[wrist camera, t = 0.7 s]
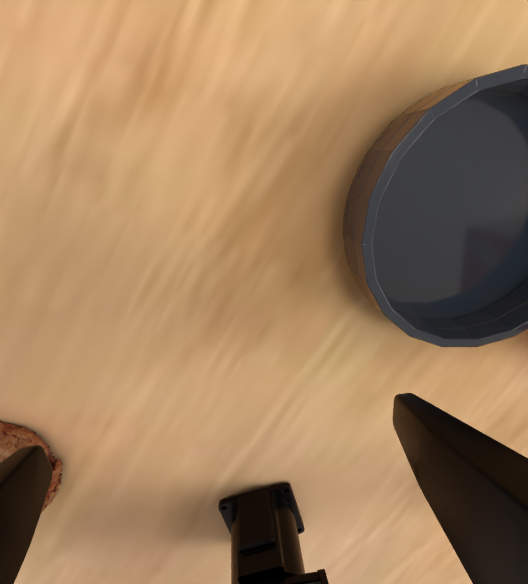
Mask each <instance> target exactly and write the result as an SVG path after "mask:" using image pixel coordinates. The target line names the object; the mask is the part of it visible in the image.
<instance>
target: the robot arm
mask: <svg viewBox="0 0 528 584" xmlns="http://www.w3.org/2000/svg"><path fill="white" fill-rule="evenodd" d="M393 425H394V428H395V431H396V433H397V435H398V438H399V440H400V442H401V445H402V447H403V449H404V452H405V454H406V456H407V459H408V461H409V463H410V466H411V468H412V470H413V473H414V475H415V477H416V480H417V482H418V484H419V486H420V488H421V490H422V492H423V494H424V496H425V498H426V499H427V501H428V503H429V505H430V507H431V508H432V510H433V512H434V514H435V516H436V517H437V519H438V521H439V523H440V525H441V527H442V528H443V530H444V532H445V534H446V536H447V537H448V539H449V541H450V543H451V545H452V546H453V548H454V550H455V552H456V554H457V556H458V557H459V559H460V561H461V563H462V565H463V566H464V568H465V570H466V572H467V574H468V576H469V577H470V579H471V581H472V583H473V584H528V458H526V457H524V456H522V455H521V454H519V453H517V452H515V451H514V450H512V449H510V448H508V447H506V446H505V445H503V444H501V443H499V442H498V441H496V440H494V439H492V438H491V437H489V436H487V435H485V434H483V433H482V432H480V431H478V430H476V429H475V428H473V427H471V426H469V425H467V424H466V423H464V422H462V421H460V420H459V419H457V418H455V417H453V416H451V415H450V414H448V413H446V412H444V411H443V410H441V409H439V408H437V407H435V406H434V405H432V404H430V403H428V402H427V401H425V400H423V399H421V398H419V397H418V396H416V395H414V394H412V393H405V394H398V395H396V396H395V398H394V408H393ZM52 476H53V469H52V466H51V464H50V462H49V459H48V457H47V455H46V453H45V450H44V448H43V447H42V446H41V445H32V446H25V447H22V448H20V449H18V450H17V451H16V452H14V453H13V454H11V455H10V456H9V457H7V458H6V459H5V460H3V461H2V462H1V463H0V584H14V582H15V579H16V577H17V575H18V572H19V570H20V568H21V565H22V563H23V561H24V558H25V556H26V553H27V551H28V549H29V546H30V543H31V540H32V538H33V535H34V532H35V529H36V526H37V523H38V520H39V517H40V514H41V511H42V508H43V505H44V502H45V499H46V496H47V493H48V490H49V487H50V484H51V481H52ZM219 510H220V512H221V515H222V517H223V519H224V521H225V523H226V525H227V527H228V529H229V531H230V534H231V584H329V583H328V580H327V576H326V572H325V569H320V570H317V571H318V572H312V573H306V574H305V570H304V564H303V559H302V553H301V548H300V542H299V537H298V534H300V533H302V532H304V525H303V521H302V518H301V515H300V512H299V509H298V506H297V503H296V500H295V497H294V494H293V491H292V488H291V485H290V484H289V483H282V484H278V485H275V486H271V487H267V488H264V489H260V490H256V491H253V492H249V493H245V494H242V495H238V496H234V497H230V498H227V499H223V500H221V501H220V502H219Z"/></svg>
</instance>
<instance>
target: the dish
mask: <svg viewBox="0 0 528 584" xmlns="http://www.w3.org/2000/svg"><path fill="white" fill-rule="evenodd" d="M343 237H344V247H345V252H346V257H347V261H348V264H349V267H350V269H351V272H352V274H353V276H354V278H355V280H356V282H357V283H358V285H359V287H360V288H361V289H362V291H363V292H364V294H365V296H366V297H367V298H368V299H369V300H370V301H371V302H372V303H373V304H374V305H375V306H376V307H377V309H378V310H379V311H380V312H381V313H382V314H383V315H384V316H385V317H387V318H388V319H389V320H390V321H392V322H393V323H394V324H395V325H396V326H398V327H399V328H400V329H401V330H403V331H404V332H405V333H406V334H407V335H409V336H410V337H413V338H416V339H419V340H422V341H425V342H428V343H431V344H434V345H437V346H441V347H479V346H482V345H486V344H489V343H493V342H497V341H500V340H504V339H508V338H511V337H514V336H516V335H518V334H519V333H521V332H523V331H525V330H527V329H528V64H525V65H524V64H523V65H519V66H516V67H512V68H509V69H505V70H502V71H498V72H494V73H491V74H487V75H484V76H480V77H477V78H474V79H470V80H467V81H464V82H461V83H458V84H455V85H452V86H449V87H446V88H443V89H440V90H438V91H437V92H435V93H434V94H432V95H430V96H428V97H426V98H424V99H422V100H420V101H419V102H418V103H416V104H415V105H413V106H412V107H410V108H409V109H407V110H406V111H405V112H403V113H402V114H401V115H400V116H399V117H398V118H397V119H396V120H394V121H393V122H392V123H391V124H390V125H389V126H388V127H387V128H386V130H385V131H384V132H383V133H382V134H381V135H380V136H379V137H378V139H377V140H376V141H375V143H374V144H373V146H372V147H371V148H370V150H369V151H368V153H367V154H366V156H365V158H364V160H363V161H362V163H361V165H360V167H359V169H358V171H357V173H356V175H355V178H354V180H353V183H352V185H351V188H350V192H349V195H348V199H347V202H346V208H345V214H344V228H343Z"/></svg>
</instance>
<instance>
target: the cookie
mask: <svg viewBox="0 0 528 584" xmlns="http://www.w3.org/2000/svg"><path fill="white" fill-rule="evenodd" d="M32 445H41V446H42V447H43V448H44V450H45V453H46V455H47V457H48V459H49V462H50V464H51V466H52V469H53V476H52V481H51V484H50V487H49V490H48V493H47V496H46V499H45V502H44V505H43V508H42V511H43V510H44V509H45V508H46V507H47V506H48V505H49V504H50V503H51V502H52V500H53V499H54V497H55V495H56V494H57V492H58V490H59V487H60V485H61V478H60V476H61V475H62V474H61V473H60V472H61V468H62V465H63V463H62V462H61V461H60V460H59V459H54V458H55V457H54V456H52V452H49V446H47V444H46V443H44V442H43V440H42V439H41V438H40V437H39V436H37V435H36V433H35V432H33V431H30V430H27V429H26V428H25V427H22V428H21V427H17V426H15V425H14V424H6V423H3V422H0V463H1V462H2V461H3V460H5V459H6V458H7V457H9V456H10V455H11V454H13V453H14V452H16V451H17V450H18V449H20V448H22V447H25V446H32ZM42 511H41V512H42Z"/></svg>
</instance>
